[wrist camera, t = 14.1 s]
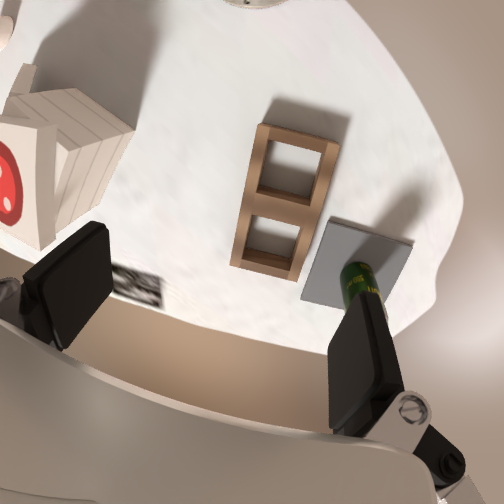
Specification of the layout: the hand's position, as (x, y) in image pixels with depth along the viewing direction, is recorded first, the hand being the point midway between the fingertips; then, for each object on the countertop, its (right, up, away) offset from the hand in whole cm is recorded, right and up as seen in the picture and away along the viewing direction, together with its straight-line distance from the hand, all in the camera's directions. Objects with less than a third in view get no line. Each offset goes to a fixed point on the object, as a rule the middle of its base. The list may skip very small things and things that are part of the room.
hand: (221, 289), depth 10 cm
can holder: (+5, +8, +30) cm, 31 cm away
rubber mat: (+17, -2, +33) cm, 37 cm away
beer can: (+17, -2, +33) cm, 37 cm away
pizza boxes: (-31, +22, +29) cm, 47 cm away
